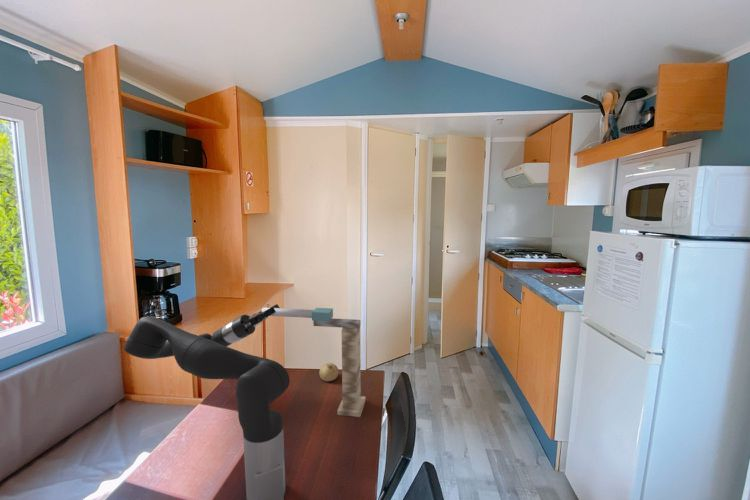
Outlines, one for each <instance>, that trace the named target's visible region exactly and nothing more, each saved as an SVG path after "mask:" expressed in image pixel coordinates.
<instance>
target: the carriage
mask: <svg viewBox="0 0 750 500" xmlns="http://www.w3.org/2000/svg"><path fill="white" fill-rule="evenodd" d="M270 308H271V307H262V309H261V311H262V312H264V311H266V310H268V309H270ZM274 309H275V311H276V312H275V313H274V314H272V315H270V316H269V317H285V318H286V317H287V318H288V317H289V318H305V319H307V318H308V319H311V321H312V322H313V321H330V320H331V318H334V308H330V307H329V308H328V307H316V308H314V309H304V308H303V309H302V308H283V307H282V308H274Z"/></svg>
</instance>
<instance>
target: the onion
mask: <svg viewBox="0 0 750 500" xmlns="http://www.w3.org/2000/svg"><path fill="white" fill-rule="evenodd" d="M339 370H340V369H339V368H338V366H337V365H336V364H334V363H332V362H328V363H324V364H323V365H322V366H321V367H320V369H319V370H318V371H319V373H318V375H319V377H320V379H321V380H323V381H324V382H332V381H335V380H336V379H337V378H338V376H339Z"/></svg>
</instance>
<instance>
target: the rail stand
mask: <svg viewBox="0 0 750 500" xmlns="http://www.w3.org/2000/svg"><path fill="white" fill-rule="evenodd" d="M312 323H313V324H312V325H313V327H327V328H340V329H341V378H342V379H341V381H342V385H341V387H342V389H341V390H342V393H341V394H342V398H341V401H340V404H339V406H338V408H337V410H336V411H337V412H336V414H337V416H344V417H345V416H346V417H347V416H348V417H356V418H361V416H362V412H363V410H364V407H365V403H366V396H362V395H361V394H362V393H361V391H362V389H361V384H362V383H361V381H362V380H361V377H362V376H361V319H349V318H334V317H332V318H331V320H330V321H312Z"/></svg>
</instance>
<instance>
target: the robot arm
mask: <svg viewBox="0 0 750 500" xmlns="http://www.w3.org/2000/svg"><path fill="white" fill-rule="evenodd" d="M269 308H270V309H268V310H266V311H264V312H262V310H261V311H258V312H256V313H254V314H251V316H250V315H248V314H242V315H240V316H239V317H236V318H235V319H233V320H232V321H229V322H228V323H227V324H225V325H224V326H222V327H221V328H218V329H217V330H215V331H214V332H213V333H212V334H210V333H201V334H199V335H197V334H195V333H191V332H189V331H186V330H183V329H182V328H179V327H178V326H176V325H174V324H171V323H170V322H167V321H166V320H163V319H160V318H158V317H155V316H142V317H141V318H140V319H138V321H137V322H136V324H135V325H134V327H133V328H132V330H131V332H130V334H129V336H128V338H127V340H126V342H125V344H124V347H123V349H124V352H126V353H127V354H128V355H131V356H133V357H136V358H140V359H143V360H144V359H147V360H154V359H155V360H157V359H163V358H169V357H174V360H175V361H176V363H177V365H178V367H179V368H180V369H181V370H183V371H184V372H186V373H188V374H191V375H193V376H195V377H197V378H200V379H205V380H237V381H236V384H235V386H236V387H235V399H236V405H237V416H238V421H239V422H238V423H239V424H240V427H241V429H242V437H243V439H242V440H243V455H244V457H243V458H244V470H245V472H244V474H245V493H246V494H245V495H246V500H285V497H284V496H285V493H286V470H285V469H286V467H285V465H286V464H285V442H284V419H283V415H282V414H281V413H280V411H279V410H276V409H273V408H272V409H271V408H270V404H272V403H273V402H274V401H276V399H278V398H279V397H281V396H282V395H283V394H284V393H285V392H286V391H287V389H288V387H289V386H290V383H291V382H290V380H291V379H290V375H289V373H288V370H287V369H286V368H285V367H284V366H283V365H282V364H281V363H279V362H277V361H275V360H273V359H269V358H264V357H261V356H257V355H254V354H250V353H249V354H248V353H245V352H242V351H239V350H237V349H234V348H231V347H229V346H230V345H232V344H235V343H237V342H240V341H241V340H242V339H243V340H244V339H245V338H247V337H248V336H250V335H252V334H254V332H255V331H256V326H258V325H259V324H261V323H262V322H264V321H265V320H267V319H268V318H269V317H271V316H270V315H272V314H274V313H275V312H276V311H275V309H274V308H280V306H279V305H278V304H274V305H272V306H271V307H269Z"/></svg>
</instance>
